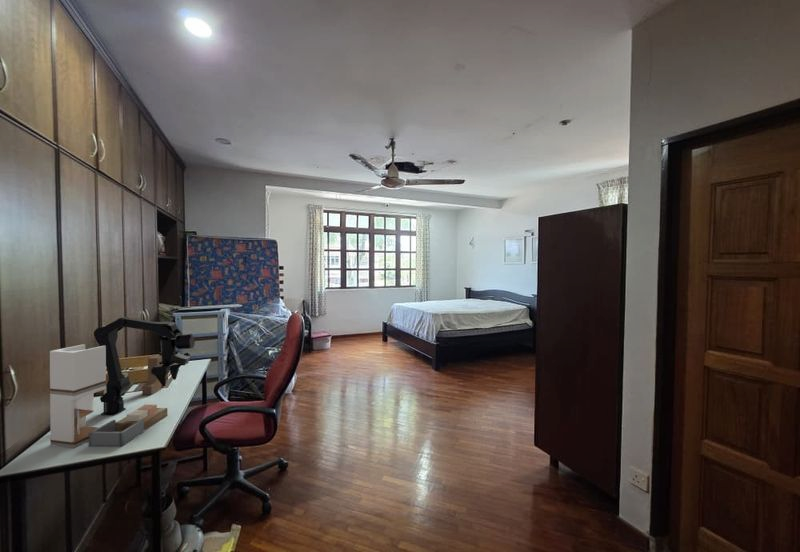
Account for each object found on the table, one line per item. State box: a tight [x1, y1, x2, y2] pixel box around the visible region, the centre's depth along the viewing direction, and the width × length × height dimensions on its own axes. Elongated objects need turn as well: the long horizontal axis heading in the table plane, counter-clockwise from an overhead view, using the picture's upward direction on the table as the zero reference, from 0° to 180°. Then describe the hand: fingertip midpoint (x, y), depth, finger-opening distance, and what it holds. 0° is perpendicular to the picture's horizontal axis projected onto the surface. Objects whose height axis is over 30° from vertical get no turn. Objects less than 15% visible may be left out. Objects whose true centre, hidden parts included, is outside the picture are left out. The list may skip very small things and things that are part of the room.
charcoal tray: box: [88, 419, 145, 448], centre depth 131 cm, size 12×11×5 cm
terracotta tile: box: [136, 404, 158, 415], centre depth 147 cm, size 5×5×2 cm
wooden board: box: [116, 407, 168, 432], centre depth 144 cm, size 11×15×4 cm
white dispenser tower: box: [49, 343, 107, 449], centre depth 130 cm, size 11×11×35 cm
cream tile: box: [125, 409, 148, 421], centre depth 141 cm, size 5×5×2 cm
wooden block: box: [141, 355, 162, 396], centre depth 180 cm, size 9×4×18 cm, turn 6°
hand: (169, 382), depth 159 cm, fingers open, 9 cm apart
